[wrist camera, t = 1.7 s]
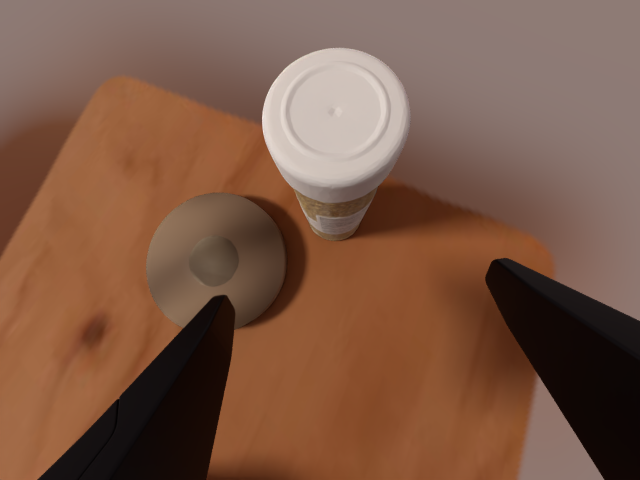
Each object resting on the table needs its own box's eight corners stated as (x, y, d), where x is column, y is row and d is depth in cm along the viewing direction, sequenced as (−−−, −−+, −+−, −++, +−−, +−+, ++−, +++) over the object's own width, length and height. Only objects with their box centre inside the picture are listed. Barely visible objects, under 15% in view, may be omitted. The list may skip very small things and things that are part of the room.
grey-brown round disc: (312, 280, 20) (310, 281, 18) (198, 356, 19) (187, 363, 18) (244, 174, 21) (237, 167, 20) (138, 243, 21) (123, 241, 20)
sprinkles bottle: (305, 192, 21) (253, 50, 7) (358, 186, 21) (403, 28, 7) (310, 245, 20) (263, 193, 7) (365, 239, 20) (427, 174, 7)
